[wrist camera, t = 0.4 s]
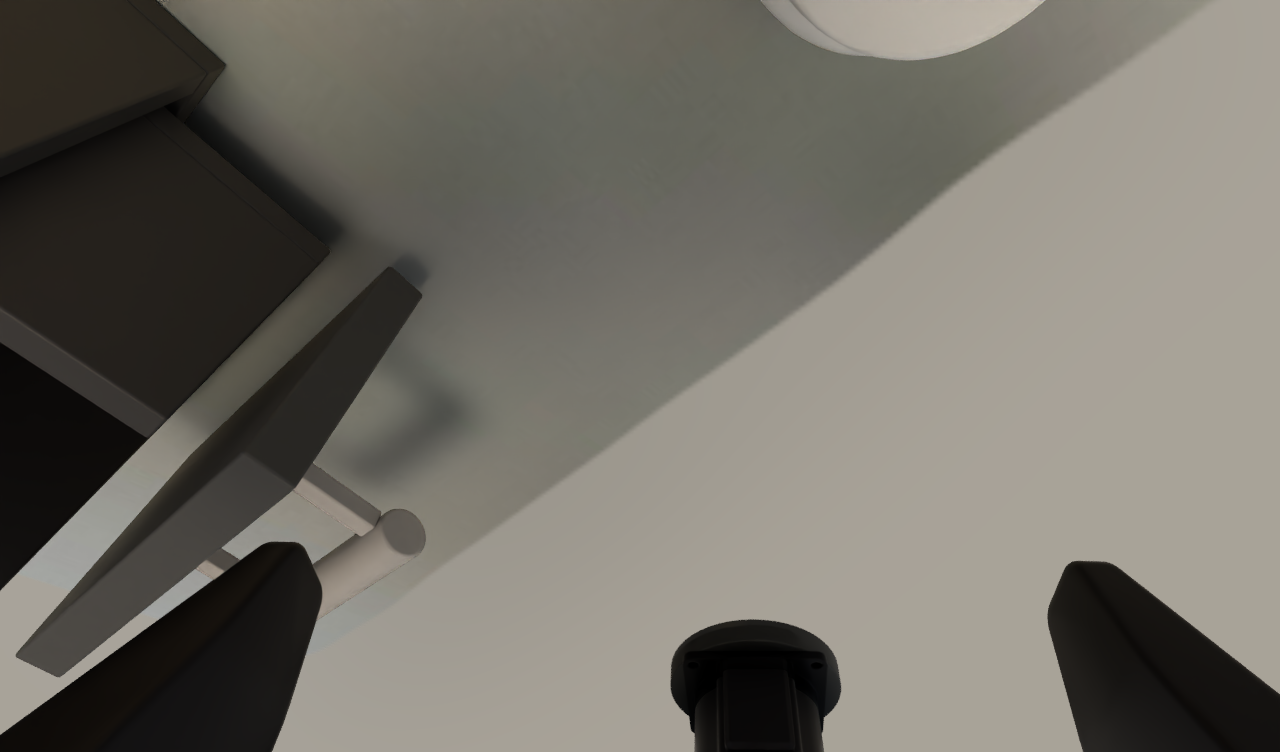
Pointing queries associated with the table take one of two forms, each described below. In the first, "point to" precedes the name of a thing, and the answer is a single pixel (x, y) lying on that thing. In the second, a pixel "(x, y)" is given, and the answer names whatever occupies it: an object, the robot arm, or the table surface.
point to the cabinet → (91, 72)
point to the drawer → (168, 372)
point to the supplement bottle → (899, 24)
